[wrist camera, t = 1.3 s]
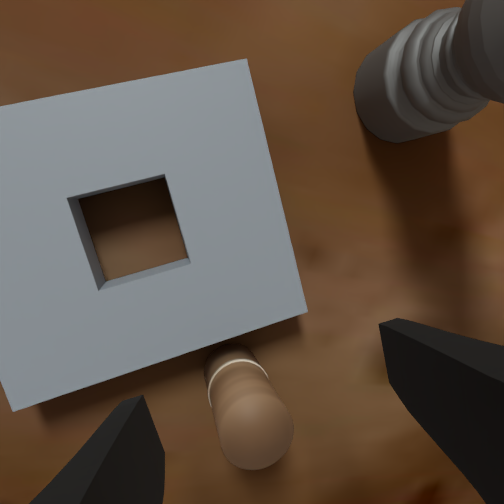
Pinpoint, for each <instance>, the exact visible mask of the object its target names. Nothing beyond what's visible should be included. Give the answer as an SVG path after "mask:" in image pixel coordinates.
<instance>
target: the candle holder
mask: <svg viewBox="0 0 504 504" xmlns="http://www.w3.org/2000/svg"><path fill="white" fill-rule="evenodd" d="M353 93H354V98H355V104H356V110H357V113H358V115H359V116H360V118H361V120H362V122H363V123H364V125H365V127H366V128H367V129H368V130H369V131H370V132H372V133H373V134H374V135H376V136H377V137H378V138H379V139H381V140H385V141H389V142H394V143H401V142H405V141H409V140H414V139H417V138H421V137H425V136H428V135H432V134H436V133H439V132H443V131H447V130H450V129H451V128H452V127H454V126H455V125H456V124H458V123H459V122H462V121H466V120H469V119H471V118H472V117H473V116H474V115H476V114H477V113H478V112H480V111H481V110H482V109H483V108H485V107H486V106H487V104H488V102H489V101H490V100H493V101H497V102H500V103H504V0H466V1H465V3H464V5H463V7H462V8H459V7H454V8H448V9H441V10H436V11H434V12H433V13H432V14H430V15H429V16H428V17H426V18H424V19H417V20H414V21H413V22H411V23H410V24H409V25H407V26H406V27H405V28H403V29H402V30H400V31H399V32H398V33H396V34H395V35H394V36H392V37H391V38H390V39H388V40H387V41H386V42H384V43H383V44H382V45H380V46H379V47H377V48H376V49H375V50H373V51H372V52H371V53H369V54H368V55H367V56H366V58H365V59H364V61H363V63H362V64H361V66H360V68H359V69H358V71H357V74H356V80H355V86H354V92H353Z"/></svg>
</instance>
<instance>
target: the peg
mask: <svg viewBox="0 0 504 504" xmlns="http://www.w3.org/2000/svg"><path fill="white" fill-rule="evenodd" d="M204 377H205V382H206V386H207V390H208V398H209V402H210V405H211V407H212V410H213V415H214V419H215V423H216V427H217V431H218V435H219V439H220V444H221V448H222V451H223V453H224V455H225V457H226V458H227V459H228V460H229V461H230V462H231V463H232V464H233V465H235V466H237V467H239V468H242V469H246V470H258V469H263V468H265V467H268V466H270V465H272V464H274V463H275V462H277V461H278V460H279V459H280V458H281V457H282V456H283V455H284V454H285V453H286V451H287V450H288V448H289V446H290V444H291V442H292V439H293V433H294V425H293V420H292V417H291V415H290V413H289V411H288V410H287V408H286V407H285V405H284V403H283V402H282V400H281V398H280V397H279V395H278V393H277V392H276V390H275V389H274V387H273V385H272V384H271V382H270V380H269V378H268V376H267V374H266V372H265V371H264V369H263V368H262V367H261V366H260V364H259V362H258V361H257V359H256V358H255V356H254V354H253V353H252V352H251V351H250V350H249V349H248V348H247V347H245V346H243V345H239V344H227V345H223V346H221V347H219V348H217V349H216V350H214V351H213V352H212V353H211V355H210V356H209V357H208V359H207V361H206V363H205V367H204Z"/></svg>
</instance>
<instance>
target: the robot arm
mask: <svg viewBox="0 0 504 504" xmlns="http://www.w3.org/2000/svg"><path fill="white" fill-rule="evenodd" d="M379 329H380V335H381V340H382V346H383V351H384V356H385V362H386V367H387V373H388V378H389V383H390V384H391V386H392V387H393V389H394V390H395V392H396V394H397V395H398V397H399V398H400V400H401V401H402V403H403V404H404V405H405V407H406V408H407V410H408V411H409V412H410V413H411V415H412V416H413V417H414V418H415V419H416V421H417V422H418V423H419V424H420V425H421V426H422V427H423V429H424V430H425V431H426V432H427V433H428V434H429V436H430V437H431V438H432V439H433V440H434V441H435V442H436V444H437V445H438V446H439V447H440V448H441V449H442V450H443V452H444V453H445V454H446V455H447V456H448V457H449V458H450V459H451V461H452V462H453V463H454V464H455V465H456V466H457V467H458V469H459V470H460V471H461V472H462V473H463V474H464V476H465V477H466V478H467V479H468V480H469V482H470V483H471V484H472V485H473V487H474V488H475V489H476V490H477V492H478V493H479V494H480V496H481V497H482V499H483V500H484V501H485V503H486V504H504V346H501V345H497V344H493V343H489V342H484V341H480V340H476V339H472V338H468V337H465V336H461V335H457V334H454V333H450V332H447V331H443V330H440V329H437V328H433V327H430V326H426V325H423V324H420V323H416V322H413V321H409V320H405V319H400V318H396V319H393V320H390V321H386V322H383V323H380V324H379ZM164 482H165V452H164V449H163V447H162V444H161V441H160V439H159V436H158V433H157V431H156V428H155V425H154V423H153V420H152V417H151V415H150V412H149V409H148V407H147V404H146V401H145V399H144V396H143V395H141V396H137V397H134V398H131V399H127V400H124V401H122V402H121V403H120V404H119V405H118V406H117V407H116V408H115V409H114V410H113V411H112V412H111V414H110V415H109V416H108V417H107V418H106V420H105V421H104V422H103V423H102V424H101V425H100V427H99V428H98V429H97V430H96V431H95V433H94V434H93V435H92V436H91V437H90V438H89V440H88V441H87V442H86V443H85V444H84V445H83V447H82V448H81V449H80V450H79V451H78V452H77V454H76V455H75V456H74V457H73V458H72V459H71V460H70V461H69V462H68V463H67V465H66V466H65V467H64V468H63V469H62V470H61V471H60V472H59V473H58V474H57V475H56V477H55V478H54V479H53V480H52V481H51V482H50V483H49V484H48V485H47V486H46V487H45V488H44V489H43V490H42V491H41V492H40V493H39V494H38V495H37V496H36V497H35V498H34V499H33V500H32V501H31V502H30V503H29V504H162V503H163V495H164Z"/></svg>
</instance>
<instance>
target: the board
mask: <svg viewBox="0 0 504 504" xmlns="http://www.w3.org/2000/svg"><path fill="white" fill-rule="evenodd" d="M161 178H165V181H166V184H167V187H168V191H169V194H170V198H171V201H172V204H173V208H174V211H175V215H176V218H177V222H178V225H179V228H180V232H181V235H182V239H183V242H184V245H185V249H186V252H187V256H188V258H185V259H182V260H179V261H175V262H172V263H168V264H165V265H161V266H158V267H155V268H151V269H148V270H144V271H141V272H137V273H134V274H130V275H127V276H124V277H120V278H117V279H113V280H110V281H105V278H104V275H103V272H102V269H101V266H100V263H99V260H98V257H97V254H96V251H95V248H94V245H93V242H92V240H91V237H90V234H89V231H88V228H87V225H86V222H85V219H84V216H83V213H82V210H81V207H80V204H79V201H78V199H80V198H84V197H88V196H92V195H96V194H100V193H104V192H108V191H112V190H116V189H120V188H124V187H128V186H132V185H136V184H140V183H144V182H149V181H153V180H157V179H161ZM306 312H308V310H307V306H306V302H305V298H304V294H303V290H302V286H301V282H300V277H299V273H298V269H297V265H296V261H295V257H294V253H293V248H292V244H291V240H290V236H289V232H288V228H287V224H286V220H285V215H284V211H283V207H282V203H281V199H280V195H279V191H278V186H277V182H276V178H275V174H274V170H273V166H272V162H271V158H270V153H269V149H268V145H267V141H266V137H265V133H264V129H263V124H262V120H261V116H260V112H259V108H258V104H257V100H256V96H255V91H254V87H253V83H252V79H251V75H250V71H249V67H248V62H247V59H242V60H236V61H231V62H226V63H221V64H216V65H211V66H206V67H201V68H195V69H190V70H185V71H180V72H175V73H170V74H165V75H159V76H154V77H149V78H144V79H139V80H134V81H129V82H124V83H118V84H113V85H108V86H103V87H98V88H93V89H88V90H83V91H77V92H72V93H67V94H62V95H57V96H52V97H47V98H42V99H36V100H31V101H26V102H21V103H16V104H11V105H6V106H0V381H1V383H2V386H3V388H4V391H5V393H6V396H7V398H8V401H9V403H10V406H11V408H12V410H13V412H14V411H17V410H20V409H23V408H26V407H29V406H32V405H35V404H37V403H40V402H43V401H46V400H49V399H52V398H55V397H58V396H61V395H64V394H67V393H70V392H73V391H76V390H79V389H82V388H85V387H88V386H91V385H93V384H96V383H99V382H102V381H105V380H108V379H111V378H114V377H117V376H120V375H123V374H126V373H129V372H132V371H135V370H138V369H141V368H144V367H147V366H149V365H152V364H155V363H158V362H161V361H164V360H167V359H170V358H173V357H176V356H179V355H182V354H185V353H188V352H191V351H194V350H197V349H200V348H203V347H206V346H208V345H211V344H214V343H217V342H220V341H223V340H226V339H229V338H232V337H235V336H238V335H241V334H244V333H247V332H250V331H253V330H256V329H259V328H262V327H264V326H267V325H270V324H273V323H276V322H279V321H282V320H285V319H288V318H291V317H294V316H297V315H300V314H303V313H306Z"/></svg>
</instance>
